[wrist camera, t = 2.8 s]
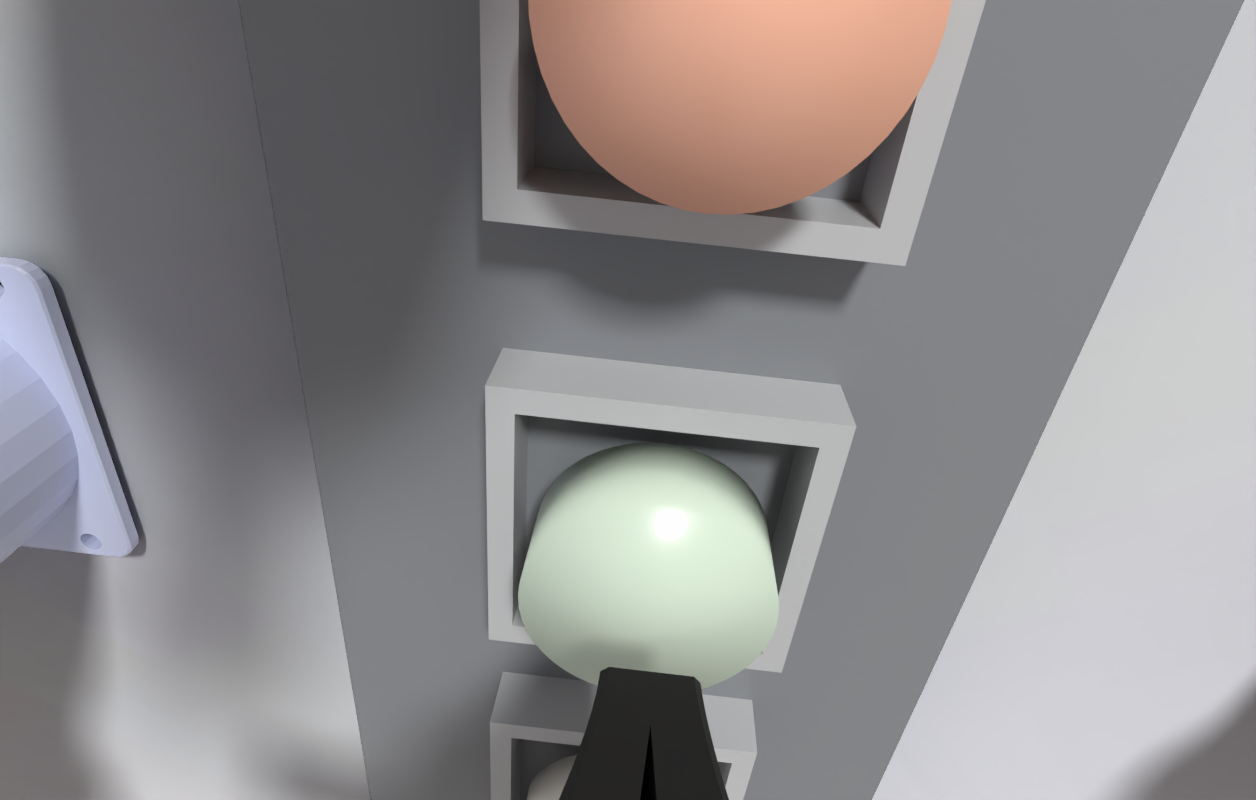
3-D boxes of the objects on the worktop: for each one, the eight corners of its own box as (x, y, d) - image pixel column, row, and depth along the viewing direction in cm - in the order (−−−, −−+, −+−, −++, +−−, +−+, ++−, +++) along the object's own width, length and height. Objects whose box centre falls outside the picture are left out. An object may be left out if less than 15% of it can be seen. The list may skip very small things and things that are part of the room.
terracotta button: (547, 160, 10) (524, 193, 9) (560, -247, 8) (531, -300, 6) (856, 193, 10) (887, 233, 9) (958, -206, 8) (1023, -250, 6)
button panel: (396, 751, 23) (354, 863, 20) (251, -395, 10) (69, -550, 7) (828, 801, 23) (849, 920, 20) (1277, -291, 10) (1532, -403, 7)
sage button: (533, 606, 15) (516, 680, 13) (539, 429, 13) (519, 493, 11) (745, 630, 15) (753, 707, 13) (790, 457, 13) (804, 525, 11)
